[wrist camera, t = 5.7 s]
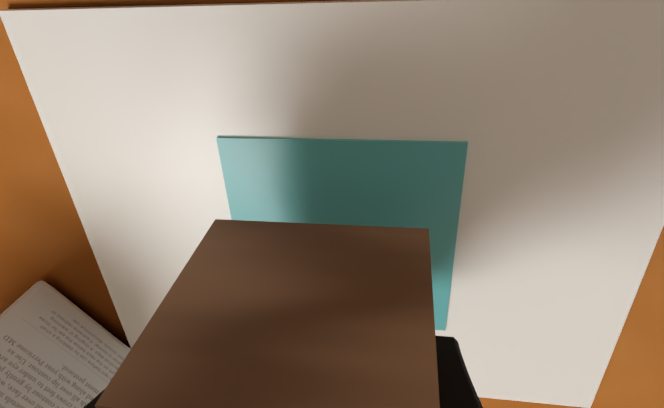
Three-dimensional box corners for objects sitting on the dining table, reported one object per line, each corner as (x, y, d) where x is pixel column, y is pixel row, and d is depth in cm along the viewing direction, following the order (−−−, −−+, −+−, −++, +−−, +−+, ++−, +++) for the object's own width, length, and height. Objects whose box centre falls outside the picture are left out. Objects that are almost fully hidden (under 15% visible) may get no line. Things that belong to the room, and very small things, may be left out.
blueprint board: (748, -10, 10) (760, -8, 10) (587, 400, 17) (591, 410, 17) (6, 9, 13) (-5, 11, 12) (140, 358, 20) (135, 365, 19)
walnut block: (428, 228, 10) (442, 443, 6) (417, 376, 13) (420, 598, 9) (215, 219, 11) (94, 406, 7) (244, 360, 14) (171, 558, 9)
